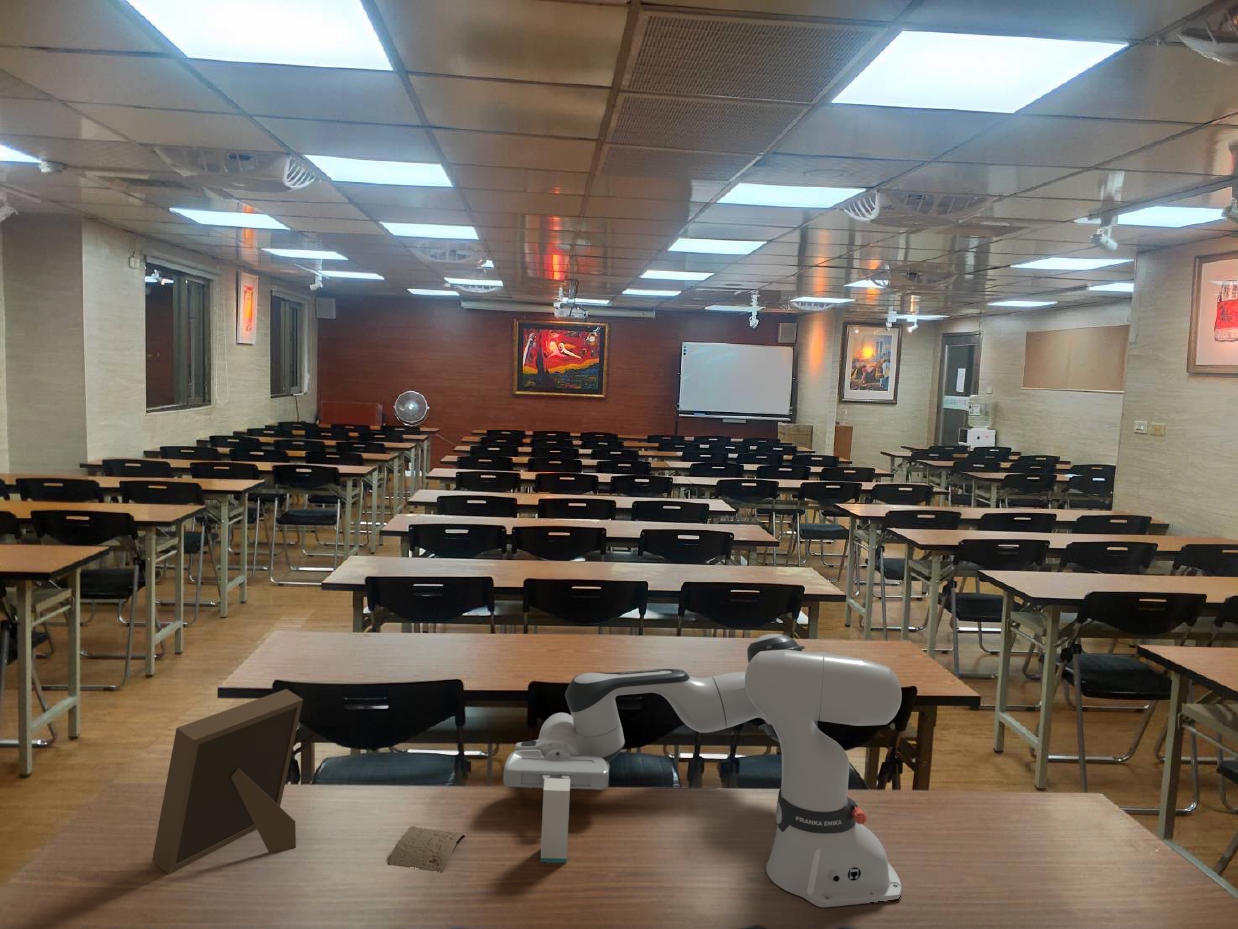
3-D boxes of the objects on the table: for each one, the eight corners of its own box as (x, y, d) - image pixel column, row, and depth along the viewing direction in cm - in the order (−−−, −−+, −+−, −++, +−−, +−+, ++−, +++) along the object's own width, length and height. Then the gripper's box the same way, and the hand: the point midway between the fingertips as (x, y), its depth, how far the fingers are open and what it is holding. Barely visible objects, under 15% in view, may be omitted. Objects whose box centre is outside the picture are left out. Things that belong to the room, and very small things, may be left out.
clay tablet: (417, 827, 159) (417, 813, 159) (470, 834, 158) (470, 820, 158) (384, 871, 145) (385, 856, 144) (442, 879, 143) (443, 863, 143)
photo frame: (152, 866, 142) (153, 719, 139) (261, 812, 161) (265, 682, 159) (212, 895, 135) (215, 742, 133) (319, 835, 154) (323, 700, 152)
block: (567, 849, 153) (570, 779, 152) (566, 863, 149) (569, 791, 148) (541, 848, 153) (544, 778, 152) (540, 862, 149) (543, 790, 148)
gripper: (608, 775, 174) (610, 809, 160) (506, 772, 173) (499, 806, 159) (610, 745, 173) (611, 777, 160) (508, 742, 173) (501, 773, 159)
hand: (555, 791), depth 160 cm, fingers closed
